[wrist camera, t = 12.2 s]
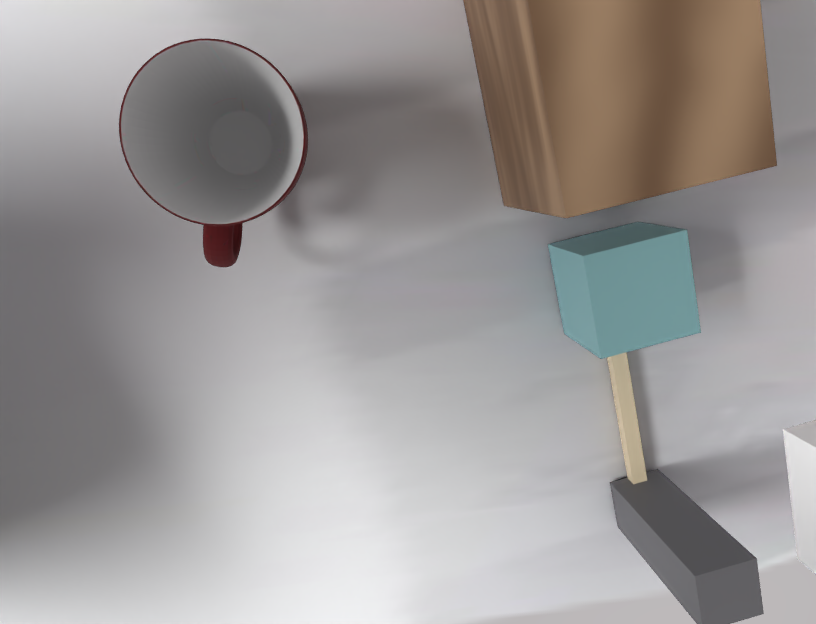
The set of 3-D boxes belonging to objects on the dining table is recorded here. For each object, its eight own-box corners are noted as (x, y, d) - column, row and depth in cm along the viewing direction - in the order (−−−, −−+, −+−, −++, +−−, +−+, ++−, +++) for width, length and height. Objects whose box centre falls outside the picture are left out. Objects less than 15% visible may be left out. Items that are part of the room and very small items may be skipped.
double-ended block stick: (600, 531, 47) (681, 638, 36) (547, 244, 42) (622, 269, 32) (681, 508, 47) (784, 607, 37) (637, 221, 43) (741, 238, 32)
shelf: (503, 205, 42) (566, 218, 31) (459, -19, 39) (511, -93, 28) (661, 166, 42) (776, 165, 31) (629, -57, 39) (745, -144, 28)
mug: (316, 252, 41) (313, 278, 31) (180, 256, 40) (133, 284, 30) (308, 70, 39) (302, 37, 29) (163, 70, 38) (107, 36, 28)
